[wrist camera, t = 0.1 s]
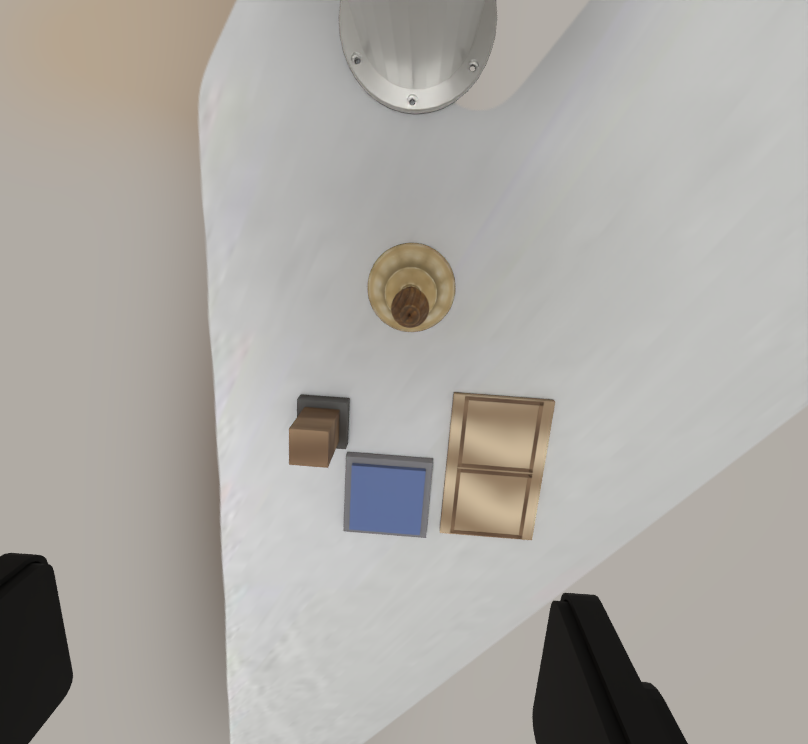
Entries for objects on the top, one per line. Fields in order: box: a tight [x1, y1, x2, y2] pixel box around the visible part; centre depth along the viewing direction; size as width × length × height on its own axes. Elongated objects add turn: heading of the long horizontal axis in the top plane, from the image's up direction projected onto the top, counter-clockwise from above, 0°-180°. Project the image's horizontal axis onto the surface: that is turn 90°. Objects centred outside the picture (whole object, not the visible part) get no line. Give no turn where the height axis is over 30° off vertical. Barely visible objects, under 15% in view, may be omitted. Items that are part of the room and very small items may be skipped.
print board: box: [440, 392, 555, 540], centre depth 47 cm, size 16×10×1 cm, turn 176°
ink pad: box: [344, 452, 433, 538], centre depth 48 cm, size 9×9×2 cm
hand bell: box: [368, 243, 455, 332], centre depth 35 cm, size 8×8×16 cm
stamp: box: [289, 395, 350, 468], centre depth 44 cm, size 5×5×7 cm
